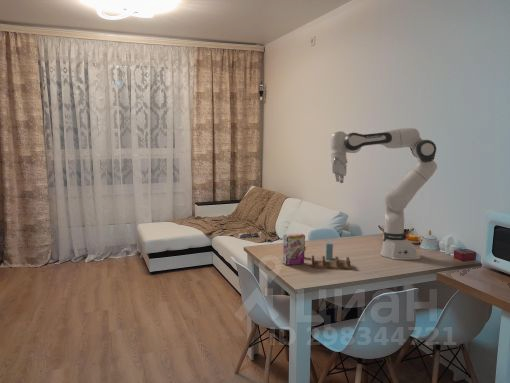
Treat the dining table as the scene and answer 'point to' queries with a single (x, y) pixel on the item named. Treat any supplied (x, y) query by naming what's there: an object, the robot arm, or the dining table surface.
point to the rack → (331, 264)
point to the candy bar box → (293, 249)
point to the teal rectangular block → (329, 251)
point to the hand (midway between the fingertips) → (339, 182)
